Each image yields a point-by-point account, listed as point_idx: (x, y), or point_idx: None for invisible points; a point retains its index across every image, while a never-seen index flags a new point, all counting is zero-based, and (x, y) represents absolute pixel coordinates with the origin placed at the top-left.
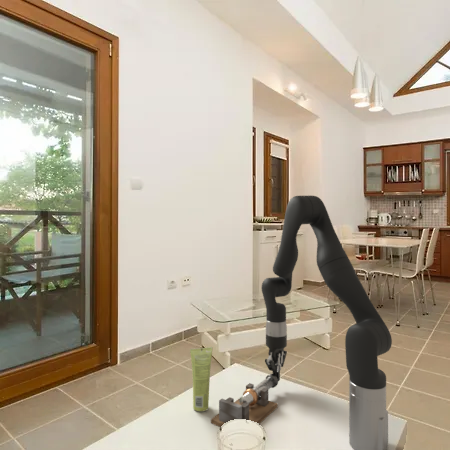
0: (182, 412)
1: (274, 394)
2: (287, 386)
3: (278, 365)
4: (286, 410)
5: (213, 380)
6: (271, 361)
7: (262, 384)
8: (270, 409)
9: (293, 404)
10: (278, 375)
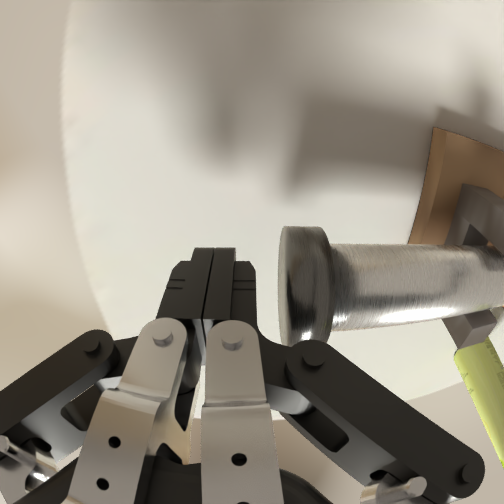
0: None
1: (288, 207)
2: (119, 192)
3: (261, 408)
4: (438, 68)
5: None
6: (473, 479)
7: (476, 294)
8: (499, 153)
9: (351, 38)
10: (218, 284)
